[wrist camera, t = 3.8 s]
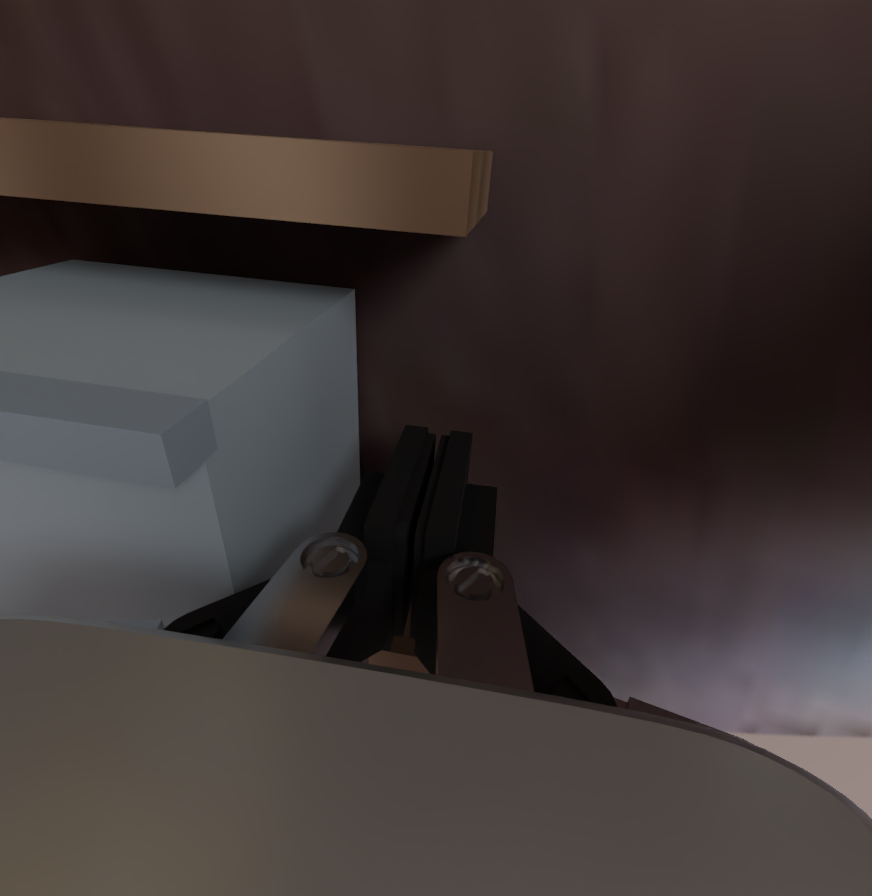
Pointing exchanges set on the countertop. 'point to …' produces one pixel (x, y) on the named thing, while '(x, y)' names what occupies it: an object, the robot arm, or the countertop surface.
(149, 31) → the countertop surface
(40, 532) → the crate
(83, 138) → the bay
